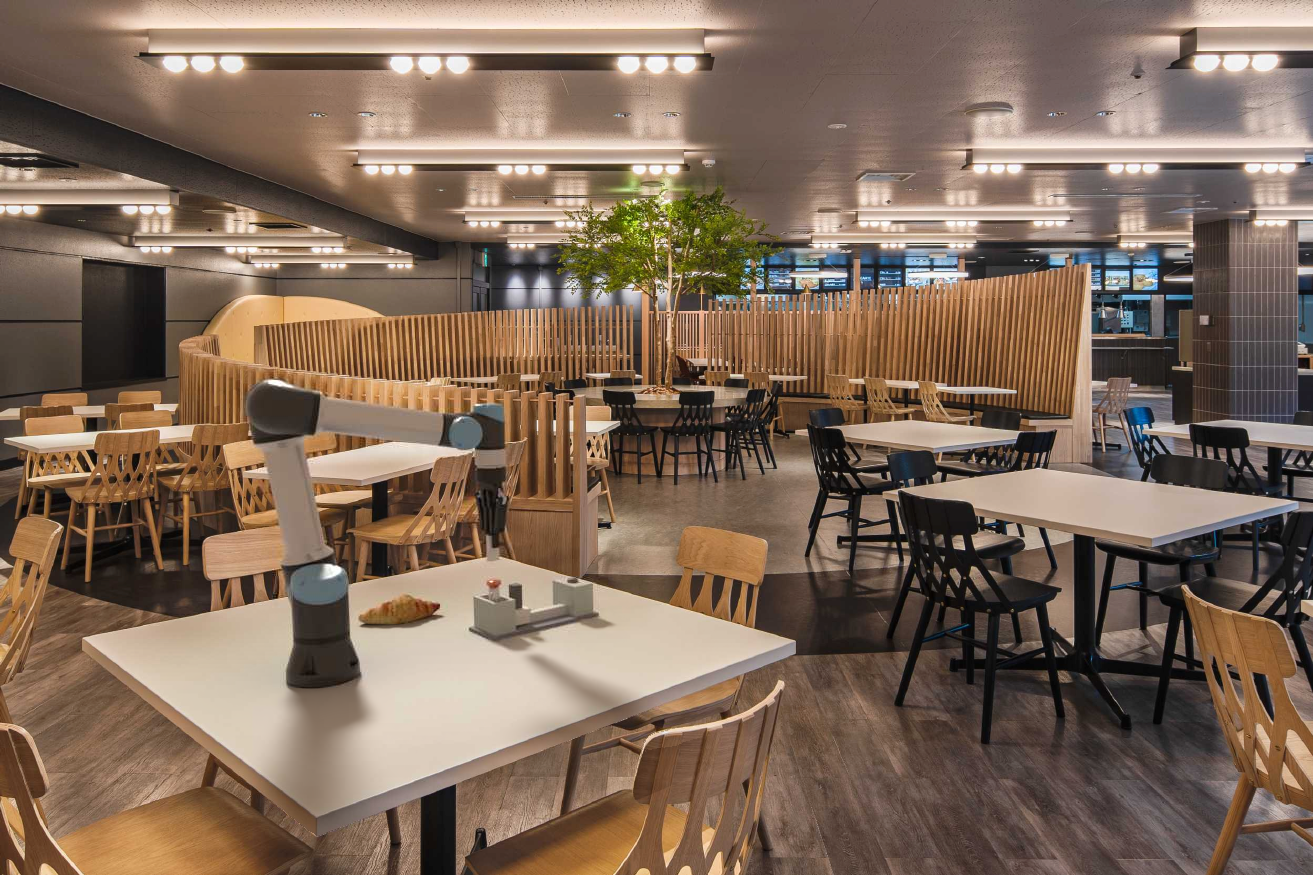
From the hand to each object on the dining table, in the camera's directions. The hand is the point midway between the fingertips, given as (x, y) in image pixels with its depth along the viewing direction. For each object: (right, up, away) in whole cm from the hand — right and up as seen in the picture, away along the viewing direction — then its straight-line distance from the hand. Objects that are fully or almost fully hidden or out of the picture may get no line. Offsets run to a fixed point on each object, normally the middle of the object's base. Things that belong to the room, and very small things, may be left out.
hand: (493, 560), depth 227 cm
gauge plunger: (0, -14, +1) cm, 14 cm away
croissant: (-27, -18, +14) cm, 36 cm away
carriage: (+5, -17, +6) cm, 18 cm away
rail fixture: (+9, -18, +9) cm, 22 cm away
